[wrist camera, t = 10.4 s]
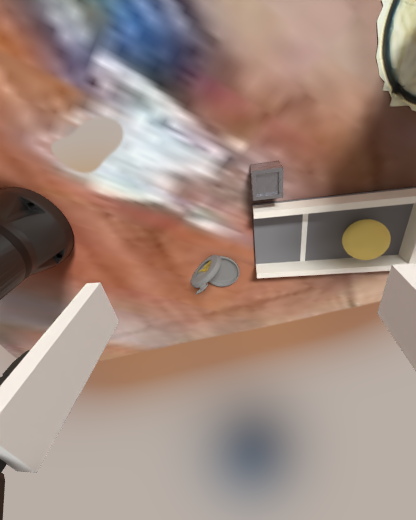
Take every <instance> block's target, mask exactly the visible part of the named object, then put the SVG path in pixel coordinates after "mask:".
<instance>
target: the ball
mask: <svg viewBox="0 0 416 520" xmlns="http://www.w3.org/2000/svg"><path fill="white" fill-rule="evenodd" d="M390 241H391V236H390V233H389V230H388V229H387V228H386V226H385V225H383V224H382V223H380V222H378V221H376V220H371V219H364V220H359V221H356V222H354V223H353V224H351V225H350V226H349V227H348V228H347V229H346V230H345V232H344V234H343V237H342V244H343V247H344V249H345V251H346V252H347V253H348V254H349V255H350V256H352V257H354V258H356V259H360V260H371V259H375V258H377V257H379V256H381V255H382V254H383V253H385V252H386V250H387V249H388V247H389V245H390Z"/></svg>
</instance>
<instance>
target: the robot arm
mask: <svg viewBox="0 0 416 520" xmlns="http://www.w3.org/2000/svg"><path fill="white" fill-rule="evenodd" d="M73 243H74V239H73V233H72V230H71V227H70V225H69V223H68V221H67V219H66V218H65V216H64V215H63V214H62V212H61V211H60V210H59V209H58V208H57V207H56V206H55V205H54V204H53V203H52V202H50V201H49V200H48V199H46V198H45V197H43V196H41V195H40V194H38V193H36V192H33V191H31V190H28V189H24V188H18V187H11V188H6V189H3V190H0V300H1V299H2V298H3V297H4V296H5V295H7V294H8V293H9V292H10V291H11V290H13V289H14V288H15V287H16V286H17V285H18V284H20V283H21V282H22V281H23V280H24V279H26V278H27V277H28V276H29V275H32V274H35V273H37V272H40V271H43V270H46V269H48V268H51V267H54V266H56V265H58V264H59V263H61V262H62V261H63V260H64V259H65V258H66V257H67V256H68V255H69V254H70V253H71V251H72V248H73ZM377 314H378V315H379V317H380V318H381V320H382V321H383V323H384V324H385V326H386V327H387V329H388V330H389V332H390V333H391V335H392V336H393V338H394V339H395V341H396V342H397V344H398V345H399V347H400V348H401V350H402V351H403V353H404V354H405V356H406V357H407V359H408V360H409V362H410V363H411V365H412V366H413V368H414V369H415V371H416V266H415V265H414V264H413V263H412V264H395V265H392V266H391V269H390V272H389V276H388V279H387V282H386V286H385V289H384V292H383V296H382V299H381V302H380V306H379V309H378V313H377ZM118 323H119V320H118V318H117V316H116V314H115V312H114V310H113V308H112V306H111V304H110V302H109V300H108V298H107V295H106V293H105V291H104V289H103V287H102V285H101V283H86V285H85V286H84V287H83V288H82V289H81V291H80V292H79V293H78V294H77V295H76V297H75V298H74V299H73V300H72V301H71V302H70V304H69V305H68V306H67V307H66V308H65V310H64V311H63V312H62V313H61V314H60V316H59V317H58V318H57V319H56V320H55V321H54V323H53V324H52V325H51V326H50V327H49V329H48V330H47V331H46V332H45V333H44V335H43V336H42V337H41V338H40V339H39V341H38V342H37V343H36V344H35V345H34V346H33V348H32V349H31V350H28V351H26V352H25V353H24V354H23V355H21V356H20V357H19V358H18V359H16V360H15V361H14V362H13V363H12V364H11V365H10V367H9V368H8V369H7V370H6V371H5V372H4V373H3V376H2V377H0V520H2V519H3V503H4V487H5V479H4V474H3V473H1V472H2V470H3V469H4V467H5V466H6V464H7V465H9V466H10V467H12V468H13V469H15V470H16V471H21V472H33V473H37V472H38V470H39V468H40V466H41V464H42V463H43V461H44V459H45V457H46V455H47V453H48V451H49V449H50V448H51V446H52V444H53V442H54V440H55V439H56V437H57V435H58V433H59V431H60V429H61V428H62V426H63V423H64V422H65V420H66V418H67V417H68V415H69V413H70V411H71V409H72V407H73V405H74V404H75V402H76V400H77V398H78V396H79V394H80V393H81V391H82V389H83V387H84V385H85V383H86V382H87V380H88V378H89V376H90V374H91V372H92V371H93V369H94V367H95V365H96V363H97V361H98V359H99V358H100V356H101V354H102V352H103V350H104V348H105V347H106V345H107V343H108V341H109V339H110V337H111V336H112V334H113V332H114V330H115V328H116V326H117V325H118Z"/></svg>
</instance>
